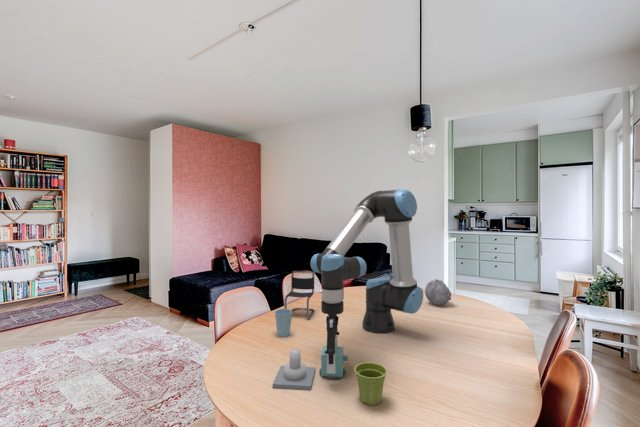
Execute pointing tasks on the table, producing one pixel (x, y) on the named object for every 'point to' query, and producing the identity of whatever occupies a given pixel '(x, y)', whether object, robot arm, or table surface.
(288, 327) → the cup
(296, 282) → the chair
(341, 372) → the teal cube with tab
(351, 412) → the table surface
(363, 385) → the plant pot
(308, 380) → the square plate with peg
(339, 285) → the robot arm
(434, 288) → the decorative orb
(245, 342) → the table surface
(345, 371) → the coaster
